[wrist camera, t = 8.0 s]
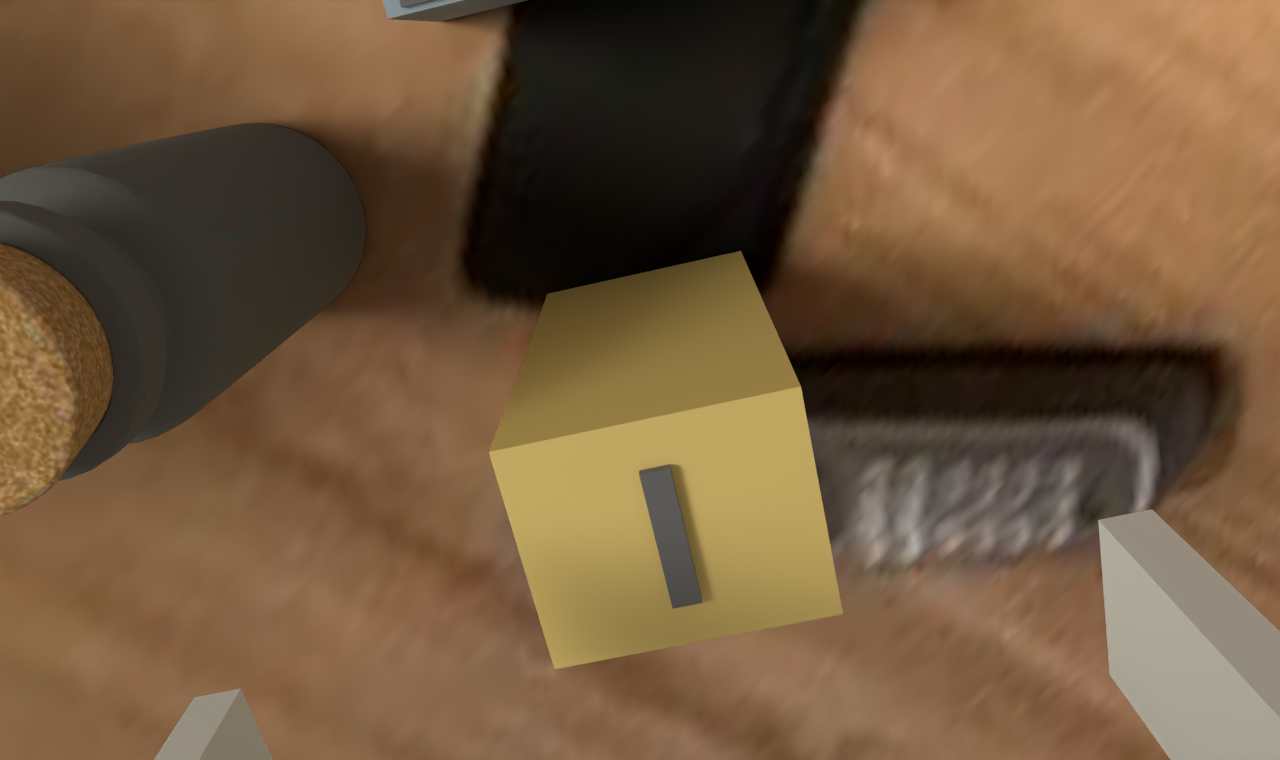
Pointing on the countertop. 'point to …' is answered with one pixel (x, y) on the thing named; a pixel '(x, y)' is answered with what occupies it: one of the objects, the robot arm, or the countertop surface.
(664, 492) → the yellow box
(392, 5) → the slotted gray box
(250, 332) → the bottle
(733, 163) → the countertop surface
